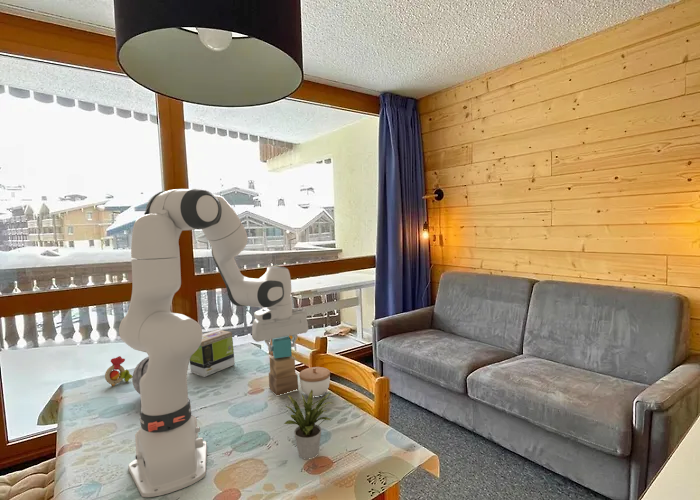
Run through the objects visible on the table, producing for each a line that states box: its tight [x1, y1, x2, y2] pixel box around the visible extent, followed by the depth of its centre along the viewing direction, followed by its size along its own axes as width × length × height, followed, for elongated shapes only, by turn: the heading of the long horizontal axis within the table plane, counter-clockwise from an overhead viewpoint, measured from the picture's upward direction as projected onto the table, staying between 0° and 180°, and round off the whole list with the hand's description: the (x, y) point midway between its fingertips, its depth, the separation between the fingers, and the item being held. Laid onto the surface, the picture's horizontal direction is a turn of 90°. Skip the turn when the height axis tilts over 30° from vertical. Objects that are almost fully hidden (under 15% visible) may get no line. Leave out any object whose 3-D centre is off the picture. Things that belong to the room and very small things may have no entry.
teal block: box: [271, 336, 293, 358], centre depth 141 cm, size 6×6×6 cm
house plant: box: [283, 389, 333, 460], centre depth 101 cm, size 14×14×16 cm
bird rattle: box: [104, 355, 133, 387], centre depth 152 cm, size 6×11×9 cm
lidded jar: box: [298, 366, 331, 397], centre depth 137 cm, size 11×11×9 cm
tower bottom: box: [268, 371, 299, 396], centre depth 142 cm, size 8×8×6 cm
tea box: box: [189, 329, 236, 378], centre depth 163 cm, size 15×10×15 cm
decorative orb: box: [131, 356, 149, 395], centre depth 140 cm, size 15×14×15 cm
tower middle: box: [269, 355, 296, 379], centre depth 141 cm, size 7×7×6 cm
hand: (281, 348), depth 141 cm, fingers closed on teal block, 6 cm apart
